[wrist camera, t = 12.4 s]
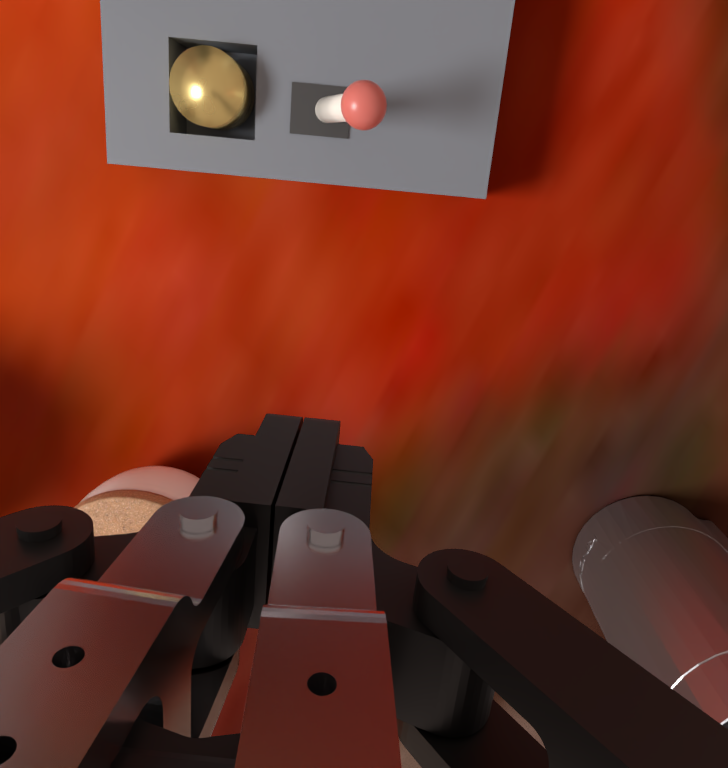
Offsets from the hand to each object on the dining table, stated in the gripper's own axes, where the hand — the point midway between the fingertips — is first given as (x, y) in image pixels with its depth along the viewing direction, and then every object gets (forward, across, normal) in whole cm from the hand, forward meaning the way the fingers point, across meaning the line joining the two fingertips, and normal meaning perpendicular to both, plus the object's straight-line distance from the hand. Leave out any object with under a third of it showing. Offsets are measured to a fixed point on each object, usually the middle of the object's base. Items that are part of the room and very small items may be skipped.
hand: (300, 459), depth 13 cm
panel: (+27, +4, -13) cm, 30 cm away
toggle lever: (+23, +3, -8) cm, 24 cm away
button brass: (+25, +8, -8) cm, 27 cm away
